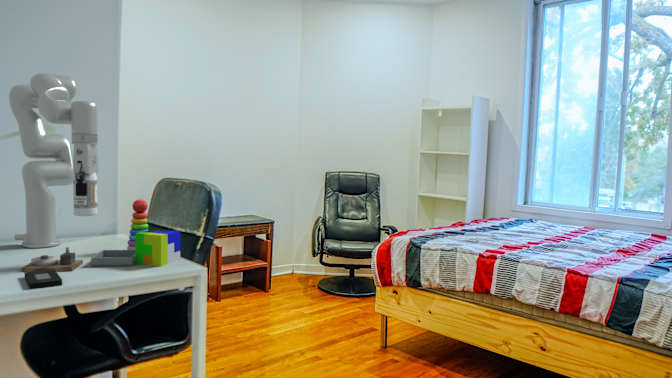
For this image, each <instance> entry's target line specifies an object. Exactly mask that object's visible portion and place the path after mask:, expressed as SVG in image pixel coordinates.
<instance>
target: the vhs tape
mask: <svg viewBox="0 0 672 378" xmlns="http://www.w3.org/2000/svg"><path fill="white" fill-rule="evenodd" d="M24 280H25V281H26V285H27V286H28V287H29V290H36V289H44V288H52V287H58V286H59V287H60V286H63V279H62V277H61V276H60V275H59V273H58V271H55V269H50V270H40V271H31V272H24Z"/></svg>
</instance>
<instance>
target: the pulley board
mask: <svg viewBox="0 0 672 378" xmlns="http://www.w3.org/2000/svg"><path fill="white" fill-rule="evenodd" d="M83 261H84V260H83V259H76V252H71V251H70V247H69V246H67V247H65V252H63V253H61V254H60V255H59V259H58V256H53V255H48V254H47V255H41V256H37V257H34V258H31V259H30V263H27V264H26V265H24V266H22V267H21V269H20V270H21V272H23V273H25V272H26V273H27V272H31V271H40V270H50V269H55V271H56V272H73V271H75V270H76V269H77V268H79V267H80V266H81V265H83Z"/></svg>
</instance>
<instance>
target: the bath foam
mask: <svg viewBox="0 0 672 378" xmlns="http://www.w3.org/2000/svg"><path fill="white" fill-rule="evenodd" d="M82 177H83V176H82ZM75 180H76V178H75V174H74V178H73V183H72V184H73V187H72V189H73V215H74V216H75V217H92V216H97V215H98V177H97V174H96V173H95V172H94V173H93V174H92V175H88V174H87V177H86V183H87V196H76V183H75Z"/></svg>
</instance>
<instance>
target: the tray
mask: <svg viewBox="0 0 672 378" xmlns="http://www.w3.org/2000/svg"><path fill="white" fill-rule="evenodd" d="M90 261H91V262H90V264H91V267H94V268H96V267H97V268H98V267H99V268H100V267H104V268H105V267H134V265H135V264H136V263H135V250H127V249H102V250H100V251H99V252H98V253H96V254H95V255H93V256H92V257H91V259H90Z"/></svg>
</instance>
